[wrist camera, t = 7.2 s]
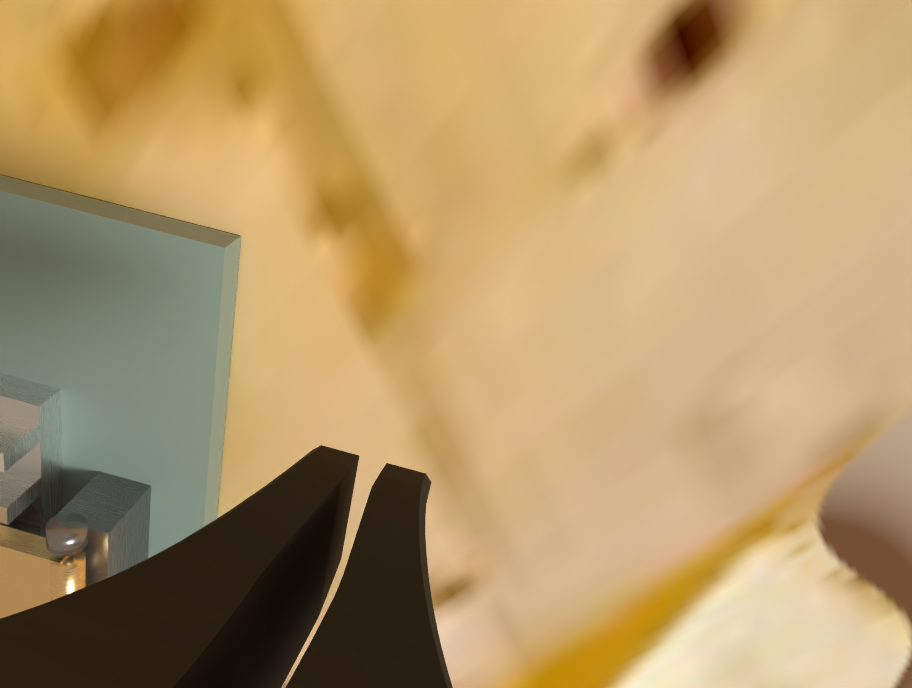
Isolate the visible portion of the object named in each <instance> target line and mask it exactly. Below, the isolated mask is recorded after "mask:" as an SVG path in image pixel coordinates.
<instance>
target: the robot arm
mask: <svg viewBox="0 0 912 688" xmlns="http://www.w3.org/2000/svg"><path fill="white" fill-rule="evenodd" d="M358 460H359V456H358V455H355V454H351V453H347V452H344V451H340V450H336V449H333V448H329V447H325V446H322V445H321V446H319V447H317V448H315V449H313V450H312V451H311V452H310V453H308V454H307V455H306V456H304V457H303V458H302V459H301V460H299V461H298V462H297V463H295V464H294V465H293V466H292V467H290V468H289V469H288V470H286V471H285V472H284V473H282V474H281V475H280V476H278V477H277V478H276V479H274V480H273V481H271V482H270V483H269V484H267V485H266V486H265V487H263V488H262V489H260V490H259V491H258V492H256V493H255V494H253V495H252V496H250V497H249V498H247V499H246V500H244V501H243V502H242V503H240V504H239V505H237V506H236V507H234V508H233V509H231V510H230V511H228V512H227V513H225V514H224V515H222V516H221V517H219V518H217V519H216V520H214V521H212V522H211V523H209V524H207V525H206V526H204V527H203V528H201V529H199V530H198V531H196V532H194V533H193V534H191V535H189V536H188V537H186V538H184V539H183V540H181V541H179V542H178V543H176V544H174V545H172V546H170V547H169V548H167V549H165V550H163V551H161V552H159V553H158V554H156V555H154V556H152V557H150V558H148V559H146V560H144V561H142V562H140V563H138V564H136V565H134V566H132V567H130V568H128V569H126V570H124V571H122V572H120V573H117V574H115V575H113V576H111V577H109V578H106V579H104V580H102V581H99V582H97V583H94V584H92V585H89V586H87V587H84V588H82V589H79V590H77V591H74V592H72V593H70V594H67V595H65V596H62V597H60V598H57V599H55V600H52V601H50V602H47V603H44V604H42V605H39V606H36V607H33V608H30V609H27V610H24V611H21V612H18V613H16V614H13V615H10V616H7V617H4V618H0V688H281V687H282V685H283V683H284V681H285V679H286V678H287V676H288V674H289V672H290V670H291V668H292V666H293V664H294V663H295V661H296V659H297V657H298V655H299V653H300V651H301V649H302V647H303V645H304V644H305V642H306V640H307V638H308V636H309V634H310V632H311V630H312V628H313V626H314V624H315V623H316V621H317V619H318V617H319V614H320V612H321V609H322V607H323V604H324V602H325V599H326V597H327V594H328V592H329V589H330V586H331V584H332V581H333V579H334V576H335V573H336V571H337V568H338V566H339V563H340V560H341V556H342V551H343V545H344V539H345V534H346V528H347V522H348V517H349V511H350V505H351V500H352V494H353V488H354V483H355V477H356V471H357V466H358ZM430 485H431V481H430V479H429V478H428V476H427V475H426V474H425V473H421V472H418V471H414V470H410V469H406V468H403V467H399V466H395V465H392V464H388V463H387V464H386V465H385V467H384V468H383V470H382V471H381V473H380V474H379V476H378V478H377V479H376V481H375V483H374V485H373V486H372V488H371V491H370V494H369V497H368V500H367V504H366V507H365V510H364V513H363V516H362V519H361V522H360V525H359V528H358V531H357V534H356V537H355V541H354V544H353V547H352V550H351V553H350V556H349V559H348V562H347V565H346V568H345V571H344V574H343V577H342V579H341V582H340V584H339V587H338V589H337V592H336V594H335V596H334V598H333V600H332V602H331V604H330V606H329V608H328V610H327V612H326V614H325V616H324V618H323V620H322V622H321V624H320V626H319V628H318V629H317V631H316V633H315V635H314V637H313V639H312V641H311V643H310V645H309V646H308V648H307V650H306V652H305V654H304V655H303V657H302V659H301V661H300V663H299V665H298V666H297V668H296V670H295V672H294V674H293V676H292V677H291V679H290V681H289V683H288V684H287V686H286V688H453V687H452V684H451V681H450V677H449V674H448V671H447V667H446V663H445V659H444V655H443V652H442V648H441V644H440V639H439V635H438V630H437V625H436V620H435V615H434V609H433V604H432V598H431V592H430V584H429V577H428V566H427V555H426V541H425V513H426V503H427V499H428V494H429V490H430Z"/></svg>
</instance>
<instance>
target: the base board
mask: <svg viewBox="0 0 912 688" xmlns="http://www.w3.org/2000/svg"><path fill="white" fill-rule="evenodd" d="M240 243H241V236H239V235H235V234H231V233H227V232H223V231H219V230H215V229H211V228H207V227H203V226H199V225H196V224H192V223H188V222H184V221H180V220H176V219H172V218H168V217H164V216H160V215H156V214H152V213H148V212H144V211H141V210H137V209H133V208H129V207H125V206H121V205H117V204H113V203H109V202H105V201H101V200H97V199H93V198H89V197H86V196H82V195H78V194H74V193H70V192H66V191H62V190H58V189H54V188H50V187H46V186H42V185H38V184H34V183H31V182H27V181H23V180H19V179H15V178H11V177H7V176H3V175H0V373H3V374H7V375H10V376H14V377H18V378H21V379H25V380H29V381H32V382H36V383H40V384H43V385H47V386H51V387H54V388H58V389H61V415H62V462H63V508H64V507H65V506H66V505H67V504H68V503H69V502H70V501H71V500H72V499H73V498H74V497H75V496H76V495H77V494H78V493H79V492H80V491H81V490H82V489H83V488H84V487H85V486H86V485H87V484H88V483H89V482H90V481H91V480H92V479H93V478H94V477H95V476H96V475H97V474H98V473H99V472H100V471H101V472H104V473H108V474H112V475H115V476H119V477H122V478H126V479H130V480H133V481H137V482H140V483H144V484H147V485H151V501H150V527H149V552H148V558H150V557H152V556H154V555H156V554H158V553H159V552H161V551H163V550H165V549H167V548H169V547H170V546H172V545H174V544H176V543H178V542H179V541H181V540H183V539H184V538H186V537H188V536H189V535H191V534H193V533H194V532H196V531H198V530H199V529H201V528H203V527H204V526H206V525H207V524H209V523H211V522H212V521H214V520H216V519H217V513H218V501H219V489H220V477H221V466H222V454H223V442H224V430H225V419H226V407H227V395H228V384H229V372H230V360H231V348H232V337H233V325H234V313H235V301H236V290H237V278H238V266H239V255H240Z"/></svg>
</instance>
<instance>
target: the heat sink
mask: <svg viewBox="0 0 912 688" xmlns="http://www.w3.org/2000/svg"><path fill="white" fill-rule="evenodd" d="M150 501H151V485H147V484H144V483H140V482H137V481H133V480H130V479H126V478H122V477H119V476H115V475H112V474H108V473H104V472H101V471H100V472H99V473H98V474H97V475H96V476H95V477H94V478H93V479H92V480H91V481H90V482H89V483H88V484H87V485H86V486H85V487H84V488H83V489H82V490H81V491H80V492H79V493H78V494H77V495H76V496H75V497H74V498H73V499H72V500H71V501H70V502H69V503H68V504H67V505H66V506H65V507H64V508H63V462H62V415H61V389H58V388H54V387H51V386H47V385H43V384H40V383H36V382H32V381H29V380H25V379H21V378H18V377H14V376H10V375H7V374H3V373H0V525H4V526H7V527H11V528H14V529H17V530H21V531H24V532H28V533H31V534H35V535H38V536H42V537H45V538H46V548H47V550H48V551H49V552H50V553H52V554H54V555H57V556H70V555H74V554H77V553H79V552H81V551H82V550H84V551H85V553H86V587H87V586H89V585H92V584H94V583H97V582H99V581H102V580H104V579H106V578H109V577H111V576H113V575H115V574H117V573H120V572H122V571H124V570H126V569H128V568H130V567H132V566H134V565H136V564H138V563H140V562H142V561H144V560H146V559H148V552H149V527H150Z"/></svg>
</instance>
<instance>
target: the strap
mask: <svg viewBox="0 0 912 688" xmlns="http://www.w3.org/2000/svg"><path fill="white" fill-rule="evenodd" d="M84 587H86V553H85V551H84V550H82V551H81V552H79V553H77V554H74V555H70V556H57V555H54V554H52V553H50V552H49V551H48V550H47V548H46V538H45V537H42V536H38V535H35V534H31V533H28V532H24V531H21V530H17V529H14V528H11V527H7V526H4V525H0V618H4V617H7V616H10V615H13V614H16V613H18V612H21V611H24V610H27V609H30V608H33V607H36V606H39V605H42V604H44V603H47V602H50V601H52V600H55V599H57V598H60V597H62V596H65V595H67V594H70V593H72V592H74V591H77V590H79V589H82V588H84Z"/></svg>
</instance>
